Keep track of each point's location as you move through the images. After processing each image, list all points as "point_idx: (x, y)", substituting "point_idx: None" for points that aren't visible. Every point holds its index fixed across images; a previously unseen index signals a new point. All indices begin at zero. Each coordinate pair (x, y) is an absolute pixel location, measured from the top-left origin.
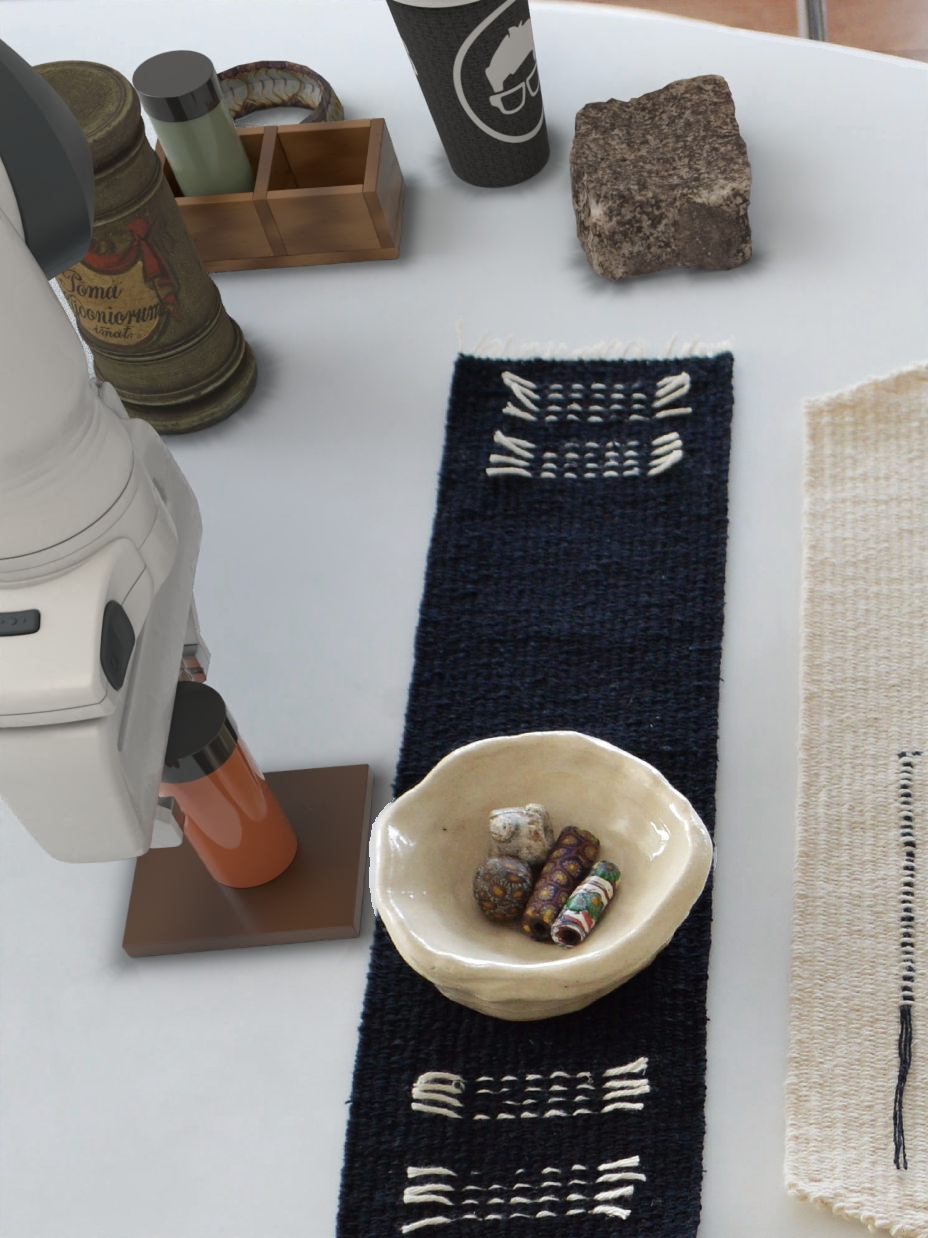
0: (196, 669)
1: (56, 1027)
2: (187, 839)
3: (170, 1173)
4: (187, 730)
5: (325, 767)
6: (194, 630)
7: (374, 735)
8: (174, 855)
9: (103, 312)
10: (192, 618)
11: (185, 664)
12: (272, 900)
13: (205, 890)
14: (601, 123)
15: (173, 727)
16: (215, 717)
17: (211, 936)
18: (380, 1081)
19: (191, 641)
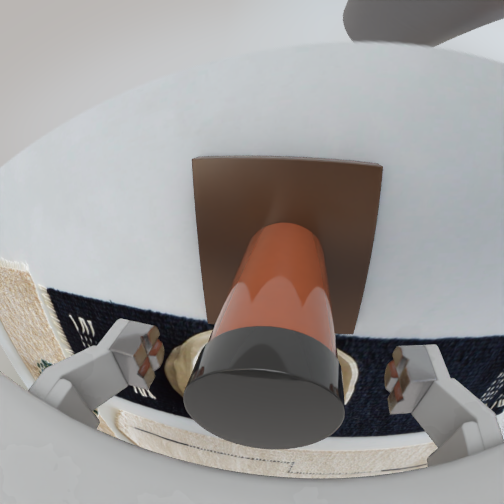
0: (393, 386)
1: (141, 114)
2: (252, 253)
3: (64, 214)
4: (239, 427)
5: (359, 308)
6: (422, 425)
7: (387, 322)
8: (289, 194)
9: None
10: (431, 437)
11: (394, 395)
12: (231, 276)
13: (246, 224)
14: None
15: (247, 419)
16: (260, 443)
17: (199, 232)
18: (123, 316)
19: (416, 412)
